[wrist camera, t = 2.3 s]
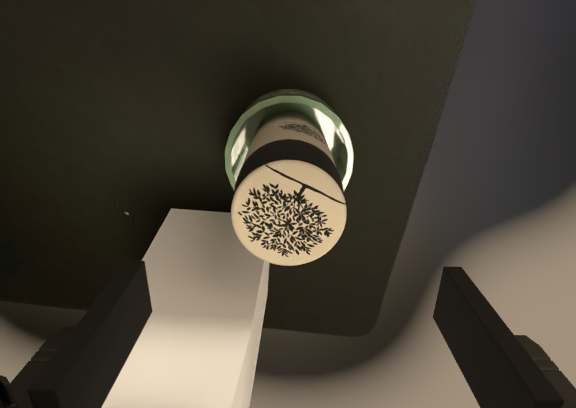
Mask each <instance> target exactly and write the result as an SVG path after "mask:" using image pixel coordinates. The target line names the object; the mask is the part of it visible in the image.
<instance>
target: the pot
mask: <svg viewBox="0 0 576 408" xmlns="http://www.w3.org/2000/svg"><path fill="white" fill-rule="evenodd" d="M283 111H296V112H300V113H303V114H305V115H307V116H309V117H310V118H312V119H313V120H314V121H315V122H316V123H317V124H318V125H319V126H320V128H321V130H322V132H323V134H324V136H325V139H326V142H327V144H328V147H329V149H330V152H331V155H332V157H333V160H334V162H335V165H336V168H337V170H338V173H339V175H340V178H341V181H342V184H343V190H345V188H346V186H347V184H348V182H349V179H350V177H351V175H352V170H353V159H354V152H353V147H352V143H351V139H350V135H349V133H348V131H347V130H346V128H345V127H344V125H343V123H342V122H341V120H340V119H339V117H338V116H337V114H336V113H335V111H334V110H333V108H332V107H331V106H329V105H328V104H327V103H326V102H325V101H323V100H322V99H321V98H319V97H318V96H316V95H313V94H311V93H308V92H306V91H302V90H296V89H280V90H277V91H273V92H270V93H267V94H264V95H262V96H261V97H260V98H258V99H257V100H255V101H254V102H253V103H251V104H250V105H249V106H248V107H247V108H246V110H245V111H244V113H243V114H242V115H241V117H240V118H239V120H238V121H237V123H236V124H235V125H234V127H233V128H232V130H231V132H230V134H229V138H228V141H227V145H226V148H225V169H226V173H227V175H228V178H229V181H230V183H231V186H232V188H233V190H234V188H235V183H236V180H237V177H238V175H239V172H240V170H241V167H242V165H243V162H244V160H245V157H246V155H247V152H248V150H249V147H250V145H251V143H252V140H253V138H254V135H255V133H256V131H257V129H258V127H259V126H260V125H261V123H262V122H263V121H264V120H265V119H267V118H268V117H270V116H271V115H273V114H276V113H279V112H283Z"/></svg>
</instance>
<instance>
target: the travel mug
mask: <svg viewBox="0 0 576 408" xmlns="http://www.w3.org/2000/svg"><path fill="white" fill-rule="evenodd" d="M231 219H232V224H233V228H234V231H235V233H236V235H237V237H238V239H239V240H240V242H241V243H242V244H243V245H244V246H245V248H246V249H247V250H249V251H250V252H251V253H252V254H254V255H255V256H257V257H258V258H260V259H262V260H264V261H267V262H270V263H273V264H278V265H300V264H304V263H308V262H311V261H313V260H316V259H317V258H319V257H321V256H323V255H324V254H325V253H327V252H328V251H329V250H330V249H331V248H332V247H333V246H334V245H335V244H336V242H337V241H338V239H339V238H340V236H341V234H342V232H343V229H344V226H345V222H346V204H345V199H344V190H343V184H342V181H341V178H340V175H339V173H338V170H337V168H336V165H335V162H334V160H333V157H332V155H331V152H330V149H329V147H328V144H327V142H326V139H325V136H324V134H323V132H322V130H321V128H320V126H319V125H318V124H317V123H316V122H315V121H314V120H313V119H312V118H310V117H309V116H307V115H305V114H303V113H300V112H296V111H283V112H279V113H276V114H273V115H271V116H270V117H268V118H267V119H265V120H264V121H263V122H262V123H261V125H260V126H259V127H258V129H257V131H256V133H255V135H254V138H253V140H252V143H251V145H250V147H249V150H248V152H247V155H246V157H245V160H244V162H243V165H242V167H241V170H240V172H239V175H238V177H237V180H236V183H235V188H234V197H233V201H232V206H231Z"/></svg>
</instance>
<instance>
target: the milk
mask: <svg viewBox="0 0 576 408" xmlns="http://www.w3.org/2000/svg"><path fill="white" fill-rule="evenodd" d="M142 261H145V267H146V274H147V280H148V286H149V293H150V299H151V305H152V313H151V315H150V317H149V319H148V321H147V323H146V325H145V326H144V328H143V330H142V332H141V334H140V336H139V338H138V340H137V342H136V343H135V345H134V347H133V349H132V351H131V353H130V355H129V357H128V359H127V360H126V362H125V364H124V366H123V368H122V370H121V372H120V374H119V375H118V377H117V379H116V381H115V383H114V385H113V387H112V389H111V391H110V392H109V394H108V396H107V398H106V400H105V402H104V404H103V406H102V408H249V407H250V400H251V394H252V387H253V381H254V375H255V369H256V362H257V356H258V350H259V344H260V337H261V331H262V325H263V318H264V312H265V306H266V299H267V291H268V276H269V262H267V261H264V260H262V259H260V258H258V257H257V256H255V255H254V254H252V253H251V252H250V251H249V250H247V249H246V248H245V246H244V245H243V244H242V243H241V242H240V240H239V239H238V237H237V235H236V233H235V231H234V228H233V224H232V219H231V213H227V212H213V211H199V210H185V209H172V208H171V210H170V211H169V213H168V215H167V217H166V219H165V220H164V222H163V224H162V226H161V227H160V229H159V231H158V233H157V234H156V236H155V238H154V240H153V242H152V243H151V245H150V247H149V249H148V250H147V252H146V254H145V256H144V257H143V259H142Z"/></svg>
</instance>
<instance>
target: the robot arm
mask: <svg viewBox="0 0 576 408" xmlns="http://www.w3.org/2000/svg"><path fill="white" fill-rule="evenodd" d="M151 313H152V305H151V299H150V293H149V286H148V280H147V274H146V267H145V261H129V260H127V261H126V262H125V264H124V265H123V266H122V268H121V269H120V270H119V271H118V273H117V274H116V275H115V277H114V278H113V279H112V280H111V282H110V283H109V284H108V286H107V287H106V288H105V289H104V291H103V292H102V293H101V295H100V296H99V297H98V298H97V300H96V301H95V302H94V304H93V305H92V306H91V307H90V309H89V310H88V311H87V313H86V314H85V315H84V316H83V318H82V319H81V320H80V322H79V323H78V324H77V325H76V327H63V328H61V329H60V330H59V331H57V332H56V333H54V334H53V335H52V336H50V337H49V338H48V339H47V340H46V342H45V343H44V344H43V345H42V346H41V348H40V349H39V351H37V352H36V353H35V355H34V356H33V357H32V358H31V361H29V362H28V363H27V364H26V365H25V366H24V368H23V369H22V370H21V371H20V372H19V374H18V375H17V376H16V377H15V378H14V380H13V381H12V382H11V383H9V381H8V380H7V378H6V377H3V376H0V408H102V406H103V404H104V402H105V400H106V398H107V396H108V394H109V392H110V391H111V389H112V387H113V385H114V383H115V381H116V379H117V377H118V375H119V374H120V372H121V370H122V368H123V366H124V364H125V362H126V360H127V359H128V357H129V355H130V353H131V351H132V349H133V347H134V345H135V343H136V342H137V340H138V338H139V336H140V334H141V332H142V330H143V328H144V326H145V325H146V323H147V321H148V319H149V317H150V315H151ZM433 318H434V320H435V322H436V324H437V326H438V328H439V329H440V331H441V333H442V335H443V337H444V339H445V341H446V343H447V345H448V347H449V348H450V350H451V352H452V354H453V356H454V358H455V360H456V362H457V364H458V366H459V368H460V369H461V371H462V373H463V375H464V377H465V379H466V381H467V383H468V384H469V386H470V388H471V390H472V392H473V394H474V396H475V398H476V400H477V402H478V404H479V406H480V408H576V389H575V387H574V386H573V385H572V384H571V383H570V381H569V380H568V379H567V378H566V377H565V376H564V374H563V373H562V372H561V371H559V368H558V367H557V366H556V365H555V363H554V362H553V361H551V360H550V357H548V355H547V354H546V353H545V352H544V350H543V349H542V348H541V347H540V346H539V345H538V344H537V343H535V342H534V341H532V340H531V339H530V338H528V337H527V336H524V335H513V333H512V332H511V331H510V329H509V328H508V327H507V326H506V324H505V323H504V322H503V320H502V319H501V318H500V317H499V315H498V314H497V313H496V311H495V310H494V309H493V307H492V306H491V305H490V304H489V302H488V301H487V300H486V298H485V297H484V296H483V295H482V293H481V292H480V291H479V289H478V288H477V287H476V286H475V284H474V283H473V282H472V281H471V279H470V278H469V276H468V275H467V274H466V273H465V271H464V270H463V269H462V267H444V268H443V272H442V277H441V282H440V287H439V291H438V296H437V301H436V305H435V310H434V315H433Z"/></svg>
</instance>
